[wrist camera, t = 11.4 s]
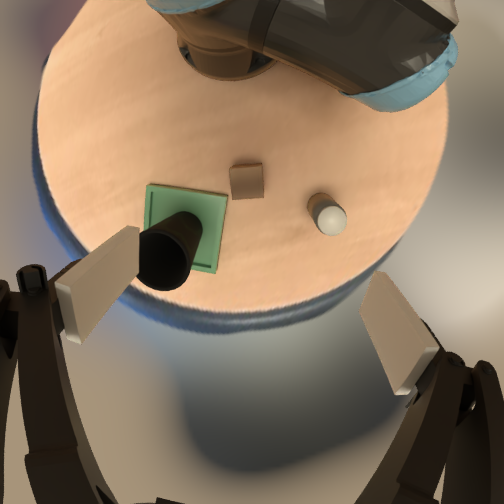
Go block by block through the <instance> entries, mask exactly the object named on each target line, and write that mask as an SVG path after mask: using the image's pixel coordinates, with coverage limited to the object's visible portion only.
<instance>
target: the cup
mask: <svg viewBox="0 0 504 504" xmlns="http://www.w3.org/2000/svg"><path fill="white" fill-rule="evenodd" d="M202 233H203V227H202V223H201V221H200V220H199V218H198V217H197V216H196V215H194V214H193V213H190V212H187V211H180V212H177V213H175V214H173V215H171V216H170V217H168V218H166V219H164V220H162V221H160V222H159V223H157V224H155V225H153V226H151V227H150V228H148V229H146V230H144V231H142V232H141V233H139V273H138V274H137V275H136V277H137V278H138V279H139V280H140V281H141V282H142V283H143V284H145V285H146V286H148V287H150V288H152V289H155V290H159V291H170V290H174V289H176V288H178V287H180V286H181V285H182V284H183V283H184V282H185V281H186V280H187V278H188V276H189V273H190V270H191V267H192V264H193V261H194V258H195V255H196V252H197V249H198V246H199V243H200V240H201V237H202Z"/></svg>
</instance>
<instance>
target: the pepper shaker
mask: <svg viewBox="0 0 504 504" xmlns="http://www.w3.org/2000/svg"><path fill="white" fill-rule="evenodd" d="M307 208H308V212H309V214H310V215H311V217H312V219H313V221H314V222H315V224H316V226H317V228H318V229H319V230H320V231H321V232H322V233H323V234H326V235H329V236H335V235H338V234H340V233H341V232H342V231H343V230H344V229H345V227H346V224H347V216H346V213H345V211H344V209H343V208H342V207H341V206H340V205H339V204H337V203H336V202H335V201H334V200H333V199H332V198H331V197H330V196H329V195H327V194H325V193H318V194H315V195H313V196H312V197H311V198H310V200H309V201H308V206H307Z"/></svg>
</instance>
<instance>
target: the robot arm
mask: <svg viewBox="0 0 504 504" xmlns="http://www.w3.org/2000/svg"><path fill="white" fill-rule="evenodd" d="M146 2H147V4H148V5H149V6H151V8H152V9H154V10H155V11H157V12H158V13H159V14H160V15H161V16H162V17H163V18H164V19H165V20H166V21H167V22H168V23H169V24H170V25H171V26H172V27H173V28H174V29H175V30H176V31H177V42H178V47H179V50H180V52H181V54H182V56H183V58H184V59H185V60H186V62H187V63H188V64H189V65H190V66H191V67H192V68H194V69H195V70H196V71H197V72H199V73H201V74H202V75H204V76H207V77H209V78H212V79H216V80H222V81H238V80H244V79H248V78H251V77H254V76H257V75H259V74H261V73H263V72H264V71H266V70H267V69H269V68H270V67H271V66H272V65H273V64H275V62H276V61H277V60H278V61H280V62H283V63H285V64H287V65H289V66H292V67H294V68H296V69H298V70H300V71H302V72H305V73H307V74H309V75H311V76H313V77H315V78H317V79H319V80H321V81H323V82H325V83H326V84H328V85H330V86H332V87H334V88H336V89H338V91H339V93H341V94H342V95H344V96H346V97H350V98H354V99H356V100H358V101H359V102H361V103H363V104H365V105H367V106H368V107H370V108H372V109H374V110H376V111H379V112H390V113H392V112H398V111H402V110H405V109H408V108H410V107H412V106H414V105H416V104H418V103H419V102H421V101H422V100H424V99H425V98H427V97H428V96H429V95H431V94H432V93H433V92H434V91H435V90H436V89H437V88H438V87H439V86H440V85H441V84H442V83H443V82H444V81H445V79H446V78H447V77H448V75H449V73H448V70H449V69H450V68H452V67H453V66H454V65H455V63H456V60H457V55H458V46H457V43H456V42H455V40H454V37H453V36H452V34H451V33H450V32H451V31H452V30H453V29H454V28H455V27H456V26H457V24H458V23H459V19H458V14H457V10H456V7H455V3H454V2H455V0H146ZM139 229H140V228H139V227H133V226H126V227H125V228H123V229H122V230H120V231H119V232H118V233H116V234H115V235H114V236H112V237H111V238H110V239H108V240H107V241H105V242H104V243H103V244H101V245H100V246H99V247H98V248H96V249H95V250H94V251H92V252H91V253H90V254H88V255H87V256H86V257H85V258H83V259H78V260H76V261H73V262H71V263H70V264H69V265H67V266H66V267H65V269H64V268H63V269H62V270H61V271H60V273H59V272H58V273H57V274H56V275H55V276H54V277H52V278H51V279H50V280H49V281H47V275H46V270H45V267H43V266H42V265H38V264H31V265H27V266H24V267H22V268H21V269H20V270H18V271H17V274H16V277H17V281H18V286H19V290H20V292H12V291H10V288H9V285H8V282H7V281H5V280H0V504H3V496H4V445H5V431H6V421H7V413H8V406H9V399H10V393H11V388H12V382H13V377H14V373H15V368H16V364H17V360H18V372H19V387H20V396H21V406H22V413H23V419H24V426H25V431H26V436H27V441H28V446H29V454H27V455H25V466H26V471H27V474H28V478H29V481H30V485H31V488H32V491H33V494H34V497H35V500H36V503H37V504H118V502H117V500H116V499H115V497H114V495H113V493H112V492H111V490H110V488H109V487H108V485H107V484H106V482H105V480H104V478H103V476H102V473H101V471H100V469H99V467H98V464H97V462H96V460H95V457H94V455H93V452H92V450H91V447H90V445H89V442H88V439H87V437H86V434H85V431H84V428H83V425H82V422H81V419H80V416H79V413H78V410H77V406H76V403H75V399H74V396H73V392H72V388H71V384H70V380H69V376H68V372H67V367H66V363H65V358H64V353H63V347H62V341H61V338H60V333H61V331H62V330H63V329H65V332H66V336H67V339H68V340H71V341H73V342H76V343H78V344H81V345H82V343H83V342H84V341H85V339H86V338H87V337H88V335H89V334H90V333H91V331H92V330H93V329H94V327H95V326H96V325H97V324H98V322H99V321H100V320H101V318H102V317H103V316H104V315H105V313H106V312H107V311H108V310H109V308H110V307H111V306H112V304H113V303H114V302H115V301H116V300H117V298H118V297H119V296H120V295H121V293H122V292H123V291H124V290H125V288H126V287H127V286H128V285H129V284H130V282H131V281H132V280H133V279H134V278H135V277H136V275H137V274H138V273H139ZM359 313H360V315H361V317H362V320H363V322H364V324H365V326H366V328H367V330H368V333H369V335H370V337H371V339H372V342H373V344H374V346H375V348H376V351H377V353H378V355H379V358H380V360H381V362H382V365H383V367H384V369H385V372H386V374H387V377H388V379H389V382H390V384H391V387H392V389H393V392H394V394H395V395H401V394H402V395H403V394H409V392H410V391H411V390H412V388H413V387H414V385H416V387H417V389H418V391H417V393H416V394H415V395H414V397H413V398H412V399H411V401H410V402H409V403H408V404H407V406H406V408H408V407H409V408H408V411H407V413H406V415H405V417H404V420H403V422H402V424H401V426H400V428H399V430H398V432H397V434H396V436H395V438H394V440H393V442H392V443H391V445H390V448H389V449H388V451H387V453H386V454H385V456H384V458H383V460H382V461H381V463H380V465H379V467H378V468H377V470H376V472H375V473H374V475H373V476H372V478H371V480H370V481H369V483H368V484H367V486H366V487H365V489H364V490H363V492H362V493H361V495H360V496H359V498H358V499H357V500H356V502H355V503H354V504H439V501H438V500H435V499H434V498H433V496H434V493H435V490H436V488H437V485H438V483H439V480H440V477H441V474H442V472H443V469H444V466H445V476H444V484H443V492H442V499H441V504H504V400H503V395H502V391H501V388H500V384H499V380H498V377H497V373H496V371H495V369H494V367H493V366H492V365H491V364H490V363H489V362H486V361H483V360H480V361H478V362H477V364H476V365H475V367H474V368H470V367H466V366H465V362H464V361H463V360H462V358H461V357H460V356H458V355H457V354H455V353H453V352H446V351H445V350H444V348H443V347H442V345H441V344H440V342H439V341H438V339H437V338H436V337H435V335H434V333H433V332H431V329H430V328H429V326H428V325H427V324H426V323H425V322H424V321H423V320H422V319H421V318H419V316H418V315H417V314H416V312H415V311H414V309H413V308H412V307H411V305H410V304H409V302H408V301H407V300H406V298H405V297H404V296H403V294H402V293H401V292H400V290H399V289H398V288H397V287H396V285H395V284H394V283H393V281H392V280H391V279H390V277H389V276H388V275H387V274H386V273H385V272H380V271H374V273H373V276H372V279H371V281H370V284H369V287H368V289H367V292H366V294H365V297H364V299H363V302H362V304H361V307H360V309H359ZM474 404H475V406H474V409H473V410H472V407H473V405H474ZM445 463H446V464H445ZM136 504H183V503H179V502H174V501H170V500H166V499H162V498H158V497H157V499H156V503H136Z"/></svg>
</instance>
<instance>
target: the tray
mask: <svg viewBox="0 0 504 504" xmlns="http://www.w3.org/2000/svg"><path fill="white" fill-rule="evenodd" d="M227 198H228V195H223V194H217V193H211V192H205V191H198V190H192V189H185V188H178V187H171V186H164V185H157V184H149V185H146V198H145V213H144V230H146V229H148V228H150V227H151V226H153V225H155V224H157V223H159V222H160V221H162V220H164V219H166V218H168V217H170V216H171V215H173V214H175V213H177V212H180V211H187V212H190V213H193V214H194V215H196V216H197V217H198V218H199V220H200V221H201V223H202V227H203V233H202V237H201V240H200V243H199V246H198V249H197V252H196V255H195V258H194V261H193V264H192V267H191V269H192V270H197V271H202V272H207V273H213V274H216V271H217V265H218V258H219V251H220V244H221V238H222V231H223V224H224V218H225V211H226V205H227Z"/></svg>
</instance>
